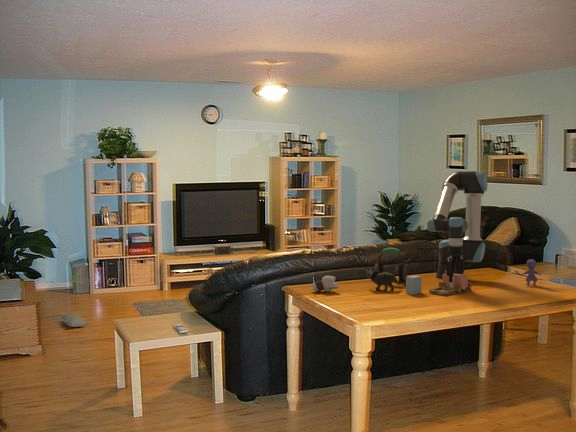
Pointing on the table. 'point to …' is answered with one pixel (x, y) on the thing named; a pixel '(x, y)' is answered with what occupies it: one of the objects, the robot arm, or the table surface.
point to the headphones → (401, 266)
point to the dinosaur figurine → (382, 279)
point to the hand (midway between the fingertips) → (455, 287)
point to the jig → (449, 289)
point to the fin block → (414, 284)
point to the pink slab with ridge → (456, 280)
